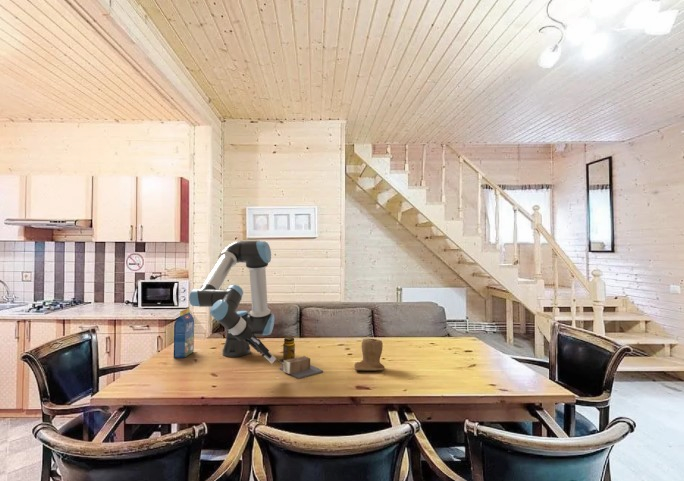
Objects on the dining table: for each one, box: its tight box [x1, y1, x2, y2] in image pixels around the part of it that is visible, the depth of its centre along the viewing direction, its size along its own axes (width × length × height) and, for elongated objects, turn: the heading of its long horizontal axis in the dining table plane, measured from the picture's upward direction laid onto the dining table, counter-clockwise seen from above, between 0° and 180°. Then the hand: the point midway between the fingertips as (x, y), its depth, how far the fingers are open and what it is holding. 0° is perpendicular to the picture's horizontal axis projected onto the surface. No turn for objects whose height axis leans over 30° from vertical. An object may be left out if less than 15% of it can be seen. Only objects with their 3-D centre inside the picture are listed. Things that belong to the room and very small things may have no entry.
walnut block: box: [282, 355, 311, 375], centre depth 172 cm, size 5×5×12 cm
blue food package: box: [173, 307, 195, 359], centre depth 197 cm, size 6×12×25 cm, turn 1°
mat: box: [279, 364, 324, 379], centre depth 173 cm, size 17×14×1 cm
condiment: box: [277, 336, 296, 365], centre depth 188 cm, size 7×8×12 cm
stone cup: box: [353, 337, 386, 372], centre depth 176 cm, size 15×12×15 cm
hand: (273, 360), depth 163 cm, fingers closed
